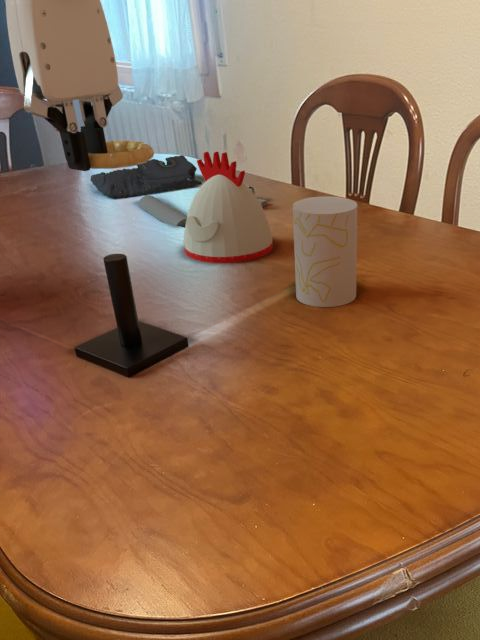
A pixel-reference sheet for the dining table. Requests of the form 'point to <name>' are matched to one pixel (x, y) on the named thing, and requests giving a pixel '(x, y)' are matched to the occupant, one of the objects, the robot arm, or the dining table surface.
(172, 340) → the post
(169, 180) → the black rough slab
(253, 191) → the strap clip
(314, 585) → the dining table surface
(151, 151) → the ring
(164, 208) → the gray half cylinder
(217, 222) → the white chicken hat
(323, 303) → the white patterned cylinder
